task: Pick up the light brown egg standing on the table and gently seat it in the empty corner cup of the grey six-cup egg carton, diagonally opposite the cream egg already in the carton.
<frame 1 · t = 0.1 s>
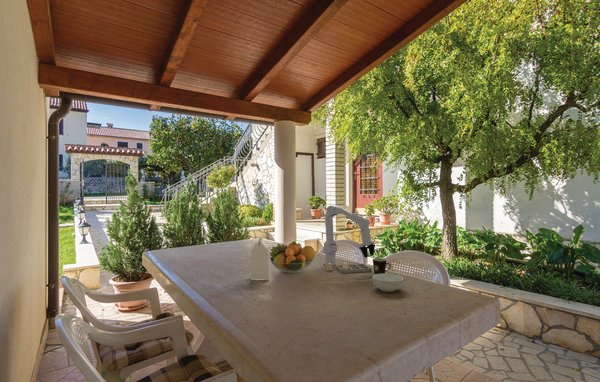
hand: (369, 256, 219), 11 cm above the table, tool pointing down, fingers open, 7 cm apart
coffee mug: (380, 276, 210), on the table
cereal bowl: (387, 290, 181), on the table
milk: (261, 278, 209), on the table
cream egg: (345, 271, 218), point 1 cm above the table, touching egg carton
egg carton: (353, 271, 223), on the table
brown egg: (329, 271, 222), on the table
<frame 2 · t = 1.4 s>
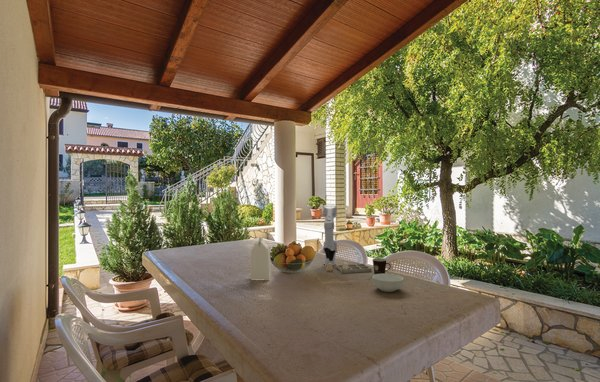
hand: (329, 259, 222), 8 cm above the table, tool pointing down, fingers open, 7 cm apart
nothing on the table moved.
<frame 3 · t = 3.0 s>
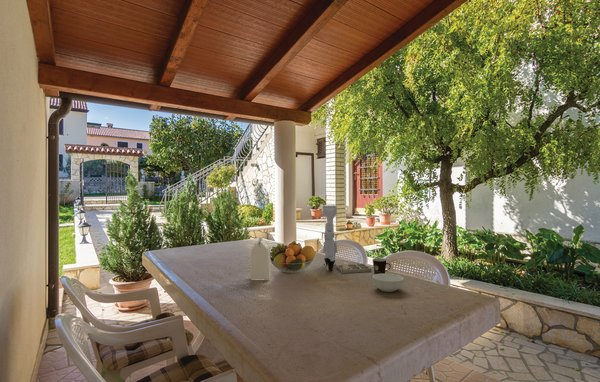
hand: (329, 269, 222), 1 cm above the table, tool pointing down, fingers closed on brown egg, 4 cm apart
brown egg: (329, 271, 222), on the table, touching gripper
everything else where it was.
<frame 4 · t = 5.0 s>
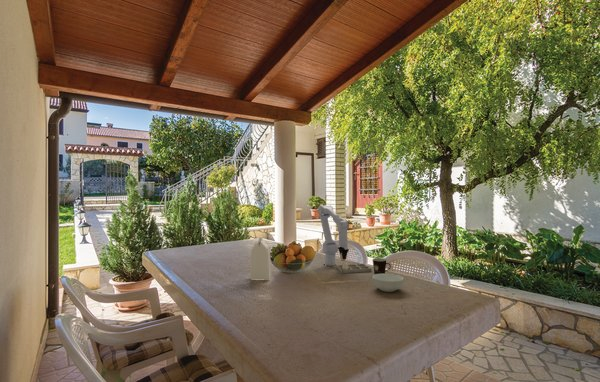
hand: (343, 258, 224), 8 cm above the table, tool pointing down, fingers closed on brown egg, 4 cm apart
brown egg: (343, 260, 224), point 7 cm above the table, touching gripper
everything else where it was.
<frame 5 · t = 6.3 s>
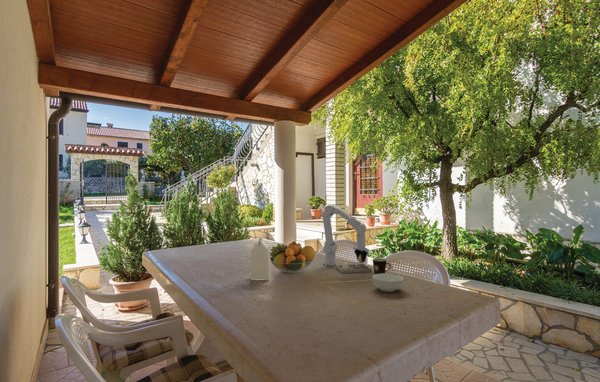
hand: (361, 261, 227), 6 cm above the table, tool pointing down, fingers closed on brown egg, 4 cm apart
brown egg: (361, 263, 227), point 4 cm above the table, touching gripper
everything else where it was.
when the fingers open (4 cm above the table, at t = 7.4 s): brown egg drops 2 cm, resting on egg carton.
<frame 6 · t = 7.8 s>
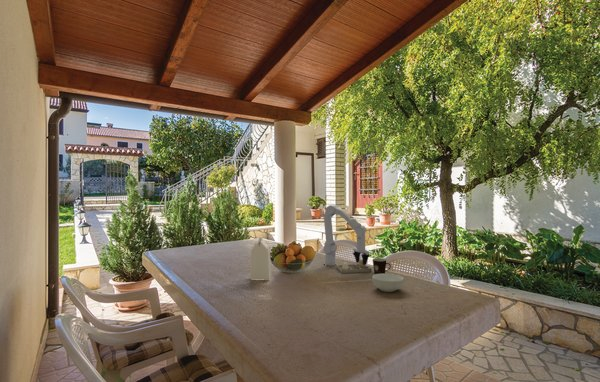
hand: (361, 263, 227), 4 cm above the table, tool pointing down, fingers open, 7 cm apart
brown egg: (361, 268, 227), point 1 cm above the table, touching egg carton
everything else where it was.
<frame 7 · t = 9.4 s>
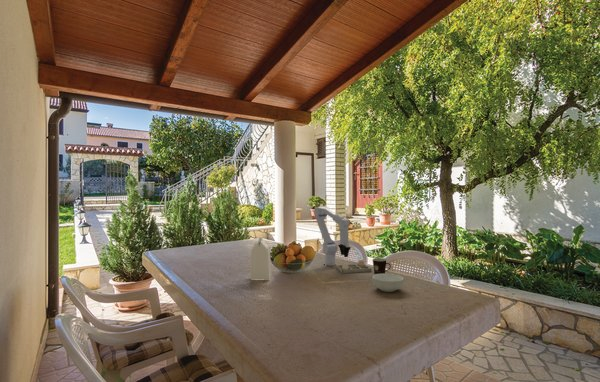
hand: (344, 255, 228), 9 cm above the table, tool pointing down, fingers open, 7 cm apart
nothing on the table moved.
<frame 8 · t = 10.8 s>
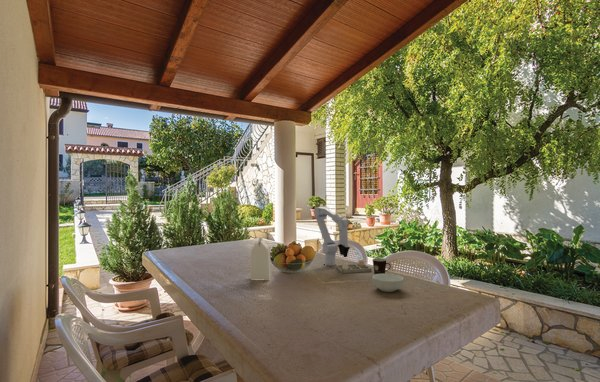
hand: (343, 255, 228), 9 cm above the table, tool pointing down, fingers open, 7 cm apart
nothing on the table moved.
at the end: brown egg 0.1 cm from the target spot on the egg carton, point 1.0 cm above the egg carton's base; brown egg tilted 0°; the gripper is holding nothing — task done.
